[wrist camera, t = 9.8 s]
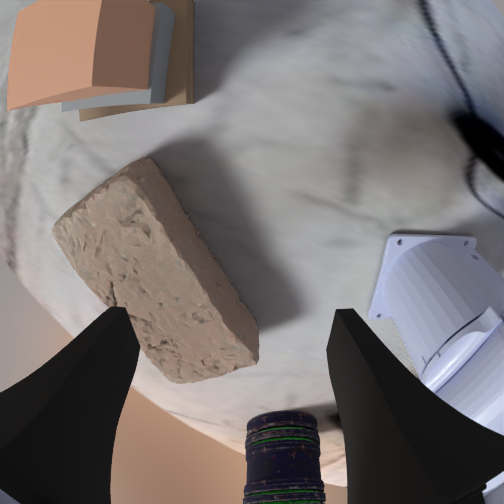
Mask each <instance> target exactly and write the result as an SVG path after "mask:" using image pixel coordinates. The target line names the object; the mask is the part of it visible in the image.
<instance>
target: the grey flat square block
mask: <svg viewBox="0 0 504 504" xmlns="http://www.w3.org/2000/svg"><path fill="white" fill-rule="evenodd" d="M152 5H153V6H154V7H156V11H155V18H154V25H153V34H152V43H151V53H150V65H149V80H148V90H139V91H130V92H122V93H115V94H108V95H102V96H96V97H91V98H85V99H80V100H75V101H68V102H62V112H64V111H71V110H78V109H86V108H94V107H104V106H115V105H130V104H156V103H165V91H166V80H167V71H168V62H169V54H170V47H171V40H172V33H173V27H174V21H175V15H176V14H175V13H174V12H173V11H172V10H171V9H170V8H169V7H168V6H167V5H166V4H165V3H164V2H162V3H153V4H152Z"/></svg>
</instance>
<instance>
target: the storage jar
mask: <svg viewBox="0 0 504 504" xmlns="http://www.w3.org/2000/svg"><path fill="white" fill-rule="evenodd" d="M316 427H317V420H316V418H315V417H314V416H312V415H311V414H308V413H305V412H300V411H275V412H269V413H265V414H261V415H258V416H256V417H254V418H252V419H251V420H250V421H249V422H248V423H247V431H248V433H247V436H246V438H247V439H246V441H245V449H246V461H247V484H246V485H245V487H244V496H245V498H243V504H325V503H323V502H325V501H326V497H325V493H323V492H324V483H323V481H322V480H321V472H320V461H319V457H320V455H321V453H320V437H319V435H318V430H317V428H316Z"/></svg>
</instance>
